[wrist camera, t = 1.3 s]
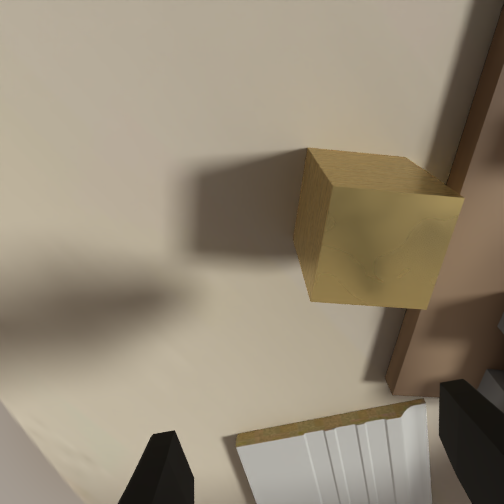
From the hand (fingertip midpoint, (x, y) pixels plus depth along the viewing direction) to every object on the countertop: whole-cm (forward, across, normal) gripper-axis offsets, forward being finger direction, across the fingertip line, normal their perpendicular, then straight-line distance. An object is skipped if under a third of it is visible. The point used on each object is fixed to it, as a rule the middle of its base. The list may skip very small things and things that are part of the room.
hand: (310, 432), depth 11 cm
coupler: (+9, -4, -3) cm, 10 cm away
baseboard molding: (+9, -3, +25) cm, 27 cm away
